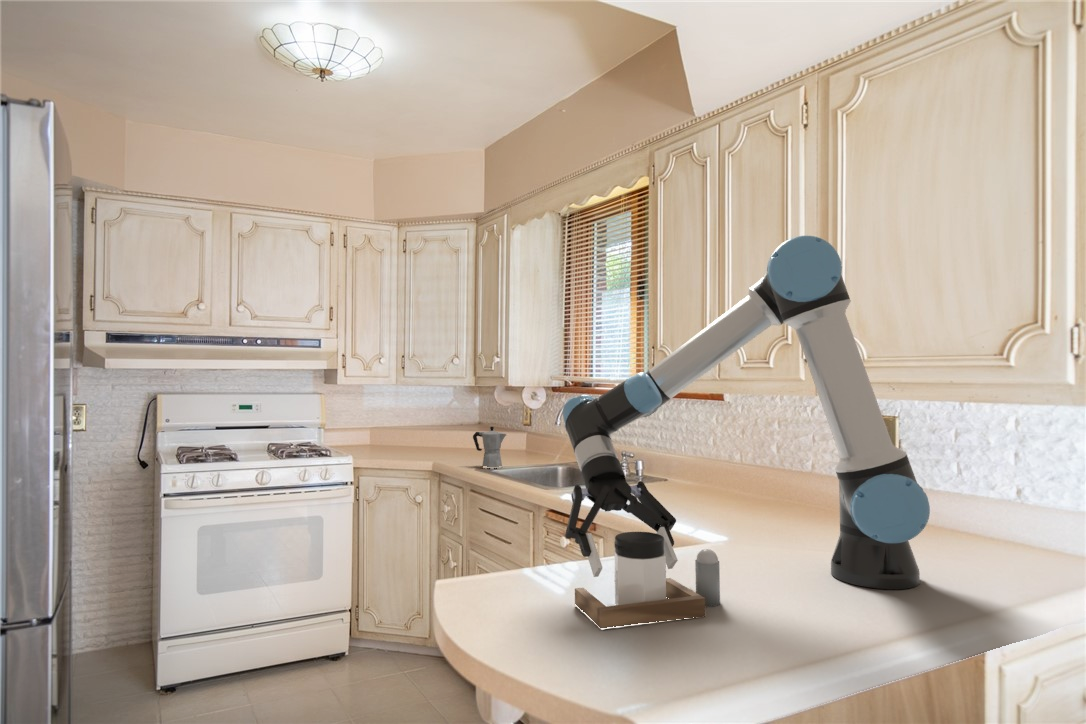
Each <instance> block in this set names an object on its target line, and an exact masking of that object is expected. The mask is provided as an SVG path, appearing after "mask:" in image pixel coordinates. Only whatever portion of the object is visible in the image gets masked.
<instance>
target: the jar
mask: <svg viewBox="0 0 1086 724" xmlns="http://www.w3.org/2000/svg"><path fill="white" fill-rule="evenodd" d="M666 567H667V565H666V556H665V555H664V537H663V536H661V535H659V534H656V533H655V532H648V531H625V532H621V533H617V534H616V535H615V536H614V604H616V605H623V604H631V603H640V602H648V601H656V600H665V599H667V598H666V578H667V575H666V574H667V568H666Z"/></svg>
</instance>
